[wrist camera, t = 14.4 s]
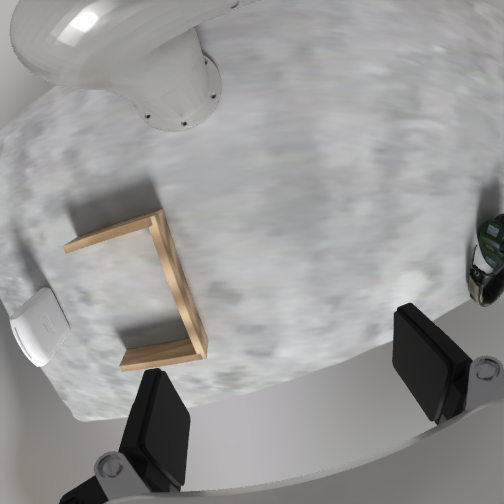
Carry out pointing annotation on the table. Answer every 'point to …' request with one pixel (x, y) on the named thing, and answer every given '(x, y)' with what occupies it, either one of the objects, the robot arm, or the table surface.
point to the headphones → (489, 263)
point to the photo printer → (40, 327)
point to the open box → (168, 257)
